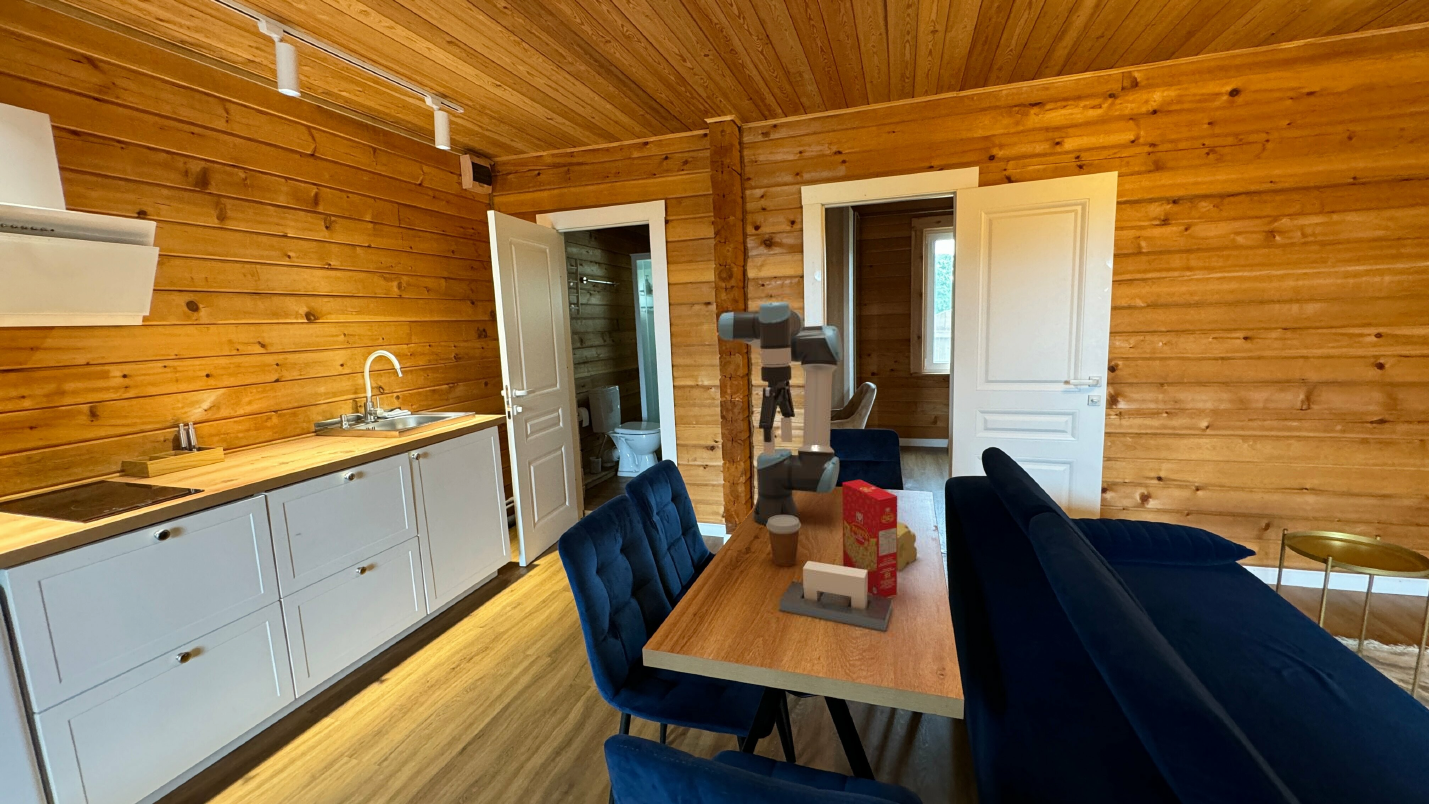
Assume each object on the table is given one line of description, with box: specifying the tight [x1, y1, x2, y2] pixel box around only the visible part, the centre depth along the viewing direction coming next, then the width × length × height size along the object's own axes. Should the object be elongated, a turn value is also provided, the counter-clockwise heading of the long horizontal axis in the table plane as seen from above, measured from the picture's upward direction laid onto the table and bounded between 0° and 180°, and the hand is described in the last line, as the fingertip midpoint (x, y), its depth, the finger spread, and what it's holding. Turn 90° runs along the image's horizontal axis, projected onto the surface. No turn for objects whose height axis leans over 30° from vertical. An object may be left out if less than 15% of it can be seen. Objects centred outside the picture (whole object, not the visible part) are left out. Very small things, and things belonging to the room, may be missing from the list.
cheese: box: [897, 520, 918, 572], centre depth 152 cm, size 10×11×10 cm
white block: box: [802, 560, 868, 611], centre depth 128 cm, size 14×4×10 cm, turn 65°
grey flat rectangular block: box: [778, 580, 893, 632], centre depth 129 cm, size 24×10×2 cm, turn 65°
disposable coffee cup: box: [765, 515, 802, 567], centre depth 154 cm, size 10×10×12 cm
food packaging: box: [841, 479, 898, 598], centre depth 138 cm, size 15×5×25 cm, turn 21°
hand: (778, 447), depth 142 cm, fingers open, 13 cm apart
